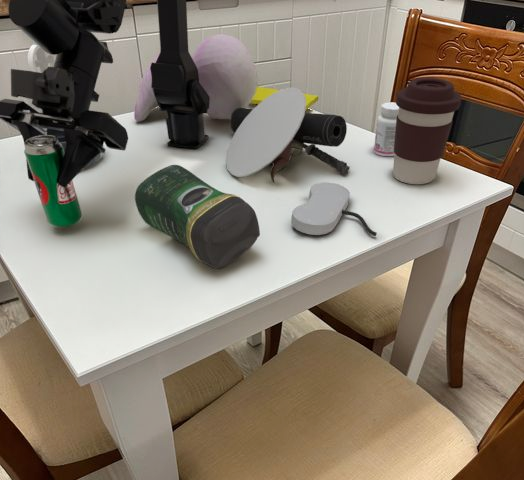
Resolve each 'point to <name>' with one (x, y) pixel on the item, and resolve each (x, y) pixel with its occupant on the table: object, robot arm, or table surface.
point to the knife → (324, 157)
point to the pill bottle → (386, 129)
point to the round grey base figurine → (267, 134)
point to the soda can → (52, 181)
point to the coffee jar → (197, 215)
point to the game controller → (324, 210)
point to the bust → (213, 78)
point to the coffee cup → (423, 128)
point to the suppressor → (307, 127)
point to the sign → (266, 92)
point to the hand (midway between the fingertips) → (46, 183)
